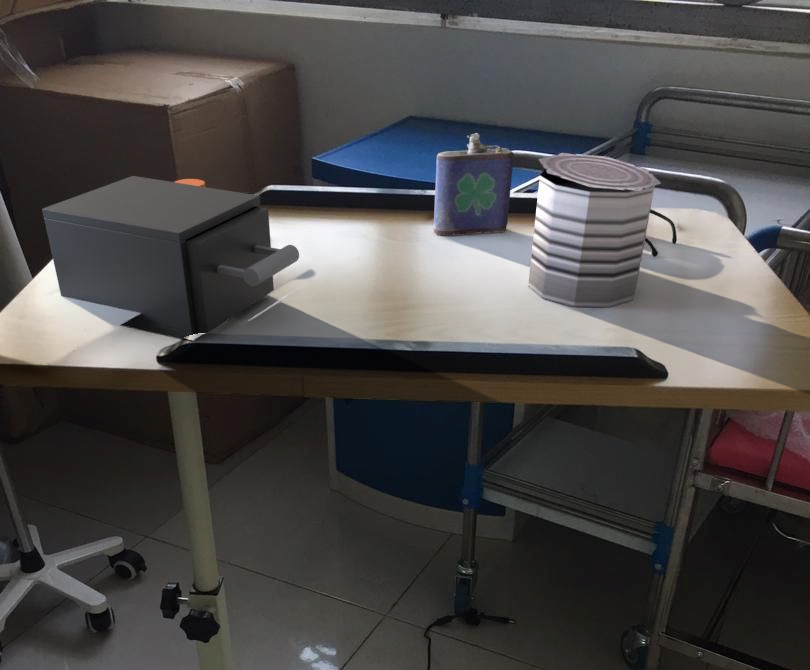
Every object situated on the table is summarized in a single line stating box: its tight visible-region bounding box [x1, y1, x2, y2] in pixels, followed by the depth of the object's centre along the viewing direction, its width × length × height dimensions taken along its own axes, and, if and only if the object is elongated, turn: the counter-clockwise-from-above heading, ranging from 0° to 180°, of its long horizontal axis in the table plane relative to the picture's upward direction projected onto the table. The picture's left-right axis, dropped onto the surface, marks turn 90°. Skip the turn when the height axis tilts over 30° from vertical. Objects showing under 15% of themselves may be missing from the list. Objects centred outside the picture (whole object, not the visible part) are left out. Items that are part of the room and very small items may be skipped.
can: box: [527, 152, 662, 308], centre depth 88 cm, size 11×11×12 cm
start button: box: [174, 178, 206, 187], centre depth 102 cm, size 4×4×2 cm
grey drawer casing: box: [41, 175, 267, 340], centre depth 83 cm, size 15×13×10 cm
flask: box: [432, 132, 515, 237], centre depth 103 cm, size 9×3×11 cm, turn 105°
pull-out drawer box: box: [185, 207, 300, 333], centre depth 82 cm, size 18×11×8 cm, turn 66°
